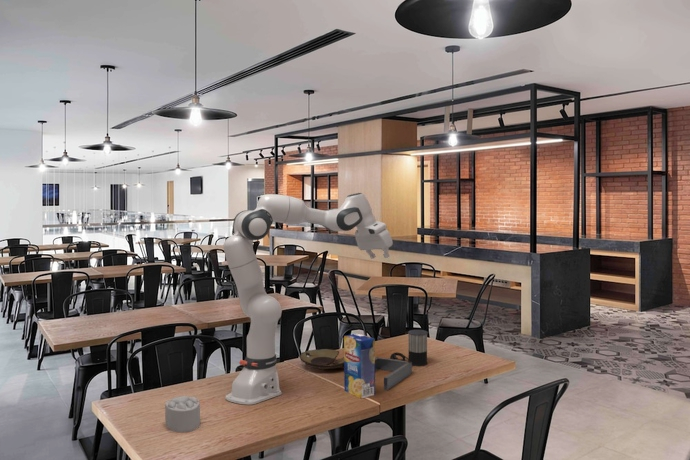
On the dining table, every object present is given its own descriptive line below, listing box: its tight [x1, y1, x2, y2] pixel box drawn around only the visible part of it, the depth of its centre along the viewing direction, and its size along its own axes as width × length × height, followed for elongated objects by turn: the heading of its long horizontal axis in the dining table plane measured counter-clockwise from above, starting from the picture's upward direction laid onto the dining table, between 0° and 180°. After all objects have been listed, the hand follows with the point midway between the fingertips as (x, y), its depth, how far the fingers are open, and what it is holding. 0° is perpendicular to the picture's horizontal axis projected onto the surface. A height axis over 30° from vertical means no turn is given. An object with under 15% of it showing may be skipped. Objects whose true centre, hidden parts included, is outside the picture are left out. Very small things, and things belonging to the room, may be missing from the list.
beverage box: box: [343, 333, 376, 399], centre depth 212 cm, size 7×11×22 cm, turn 35°
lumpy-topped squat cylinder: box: [164, 395, 201, 433], centre depth 182 cm, size 10×13×9 cm
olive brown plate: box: [299, 348, 344, 370], centre depth 245 cm, size 22×30×8 cm
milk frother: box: [389, 329, 429, 367], centre depth 253 cm, size 14×16×15 cm
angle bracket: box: [375, 356, 413, 391], centre depth 230 cm, size 25×17×5 cm
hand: (380, 257), depth 233 cm, fingers open, 8 cm apart
